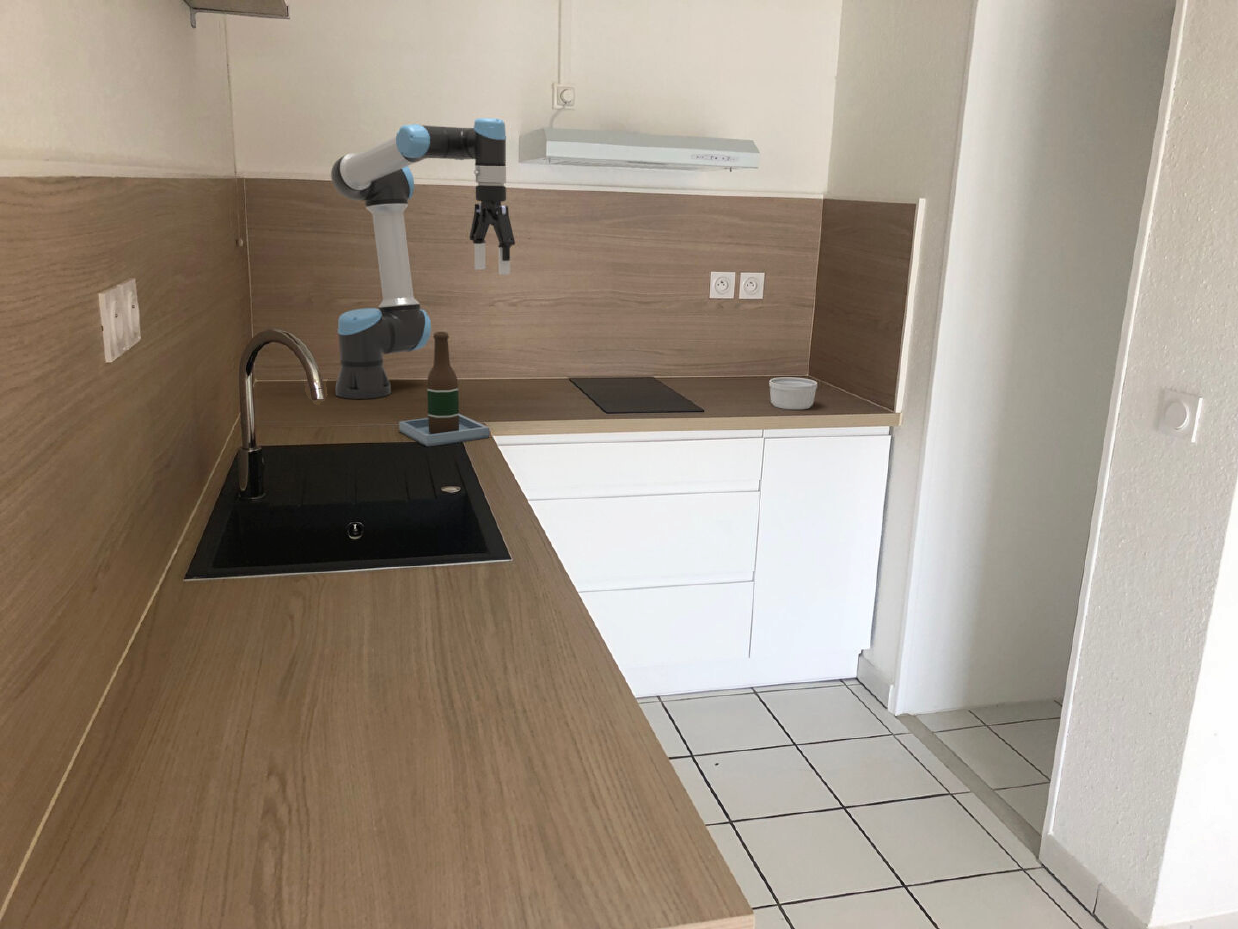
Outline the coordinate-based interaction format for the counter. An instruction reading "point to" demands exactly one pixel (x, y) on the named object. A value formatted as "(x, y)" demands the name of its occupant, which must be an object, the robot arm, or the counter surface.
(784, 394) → the ramekin
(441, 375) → the beer bottle
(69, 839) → the counter surface
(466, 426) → the dish
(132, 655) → the counter surface
